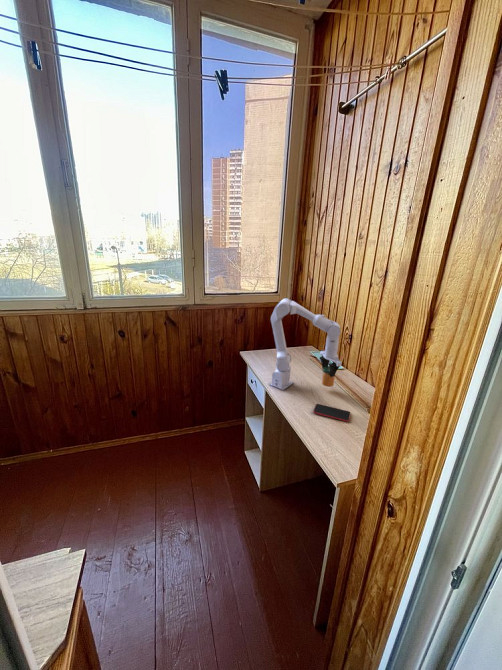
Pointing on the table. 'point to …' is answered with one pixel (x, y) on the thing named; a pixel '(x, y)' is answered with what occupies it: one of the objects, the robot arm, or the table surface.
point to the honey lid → (326, 369)
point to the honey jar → (327, 380)
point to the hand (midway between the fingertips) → (328, 373)
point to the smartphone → (332, 412)
